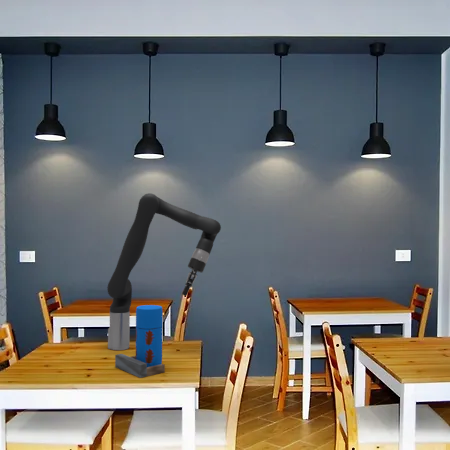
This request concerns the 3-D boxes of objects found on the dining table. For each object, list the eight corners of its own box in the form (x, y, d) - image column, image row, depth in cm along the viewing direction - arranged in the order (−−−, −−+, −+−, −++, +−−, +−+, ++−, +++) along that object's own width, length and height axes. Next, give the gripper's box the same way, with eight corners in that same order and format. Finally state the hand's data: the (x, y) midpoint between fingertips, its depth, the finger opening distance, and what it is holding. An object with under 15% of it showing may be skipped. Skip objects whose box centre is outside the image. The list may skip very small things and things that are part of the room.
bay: (139, 362, 229) (139, 350, 228) (164, 372, 214) (164, 359, 214) (115, 366, 221) (115, 354, 221) (140, 377, 207) (140, 365, 207)
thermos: (136, 371, 214) (136, 309, 214) (134, 364, 225) (135, 305, 224) (163, 370, 217) (163, 309, 216) (160, 363, 227) (161, 304, 227)
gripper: (190, 259, 253) (175, 292, 249) (192, 255, 240) (177, 290, 236) (204, 265, 253) (190, 299, 249) (207, 261, 241) (192, 297, 237)
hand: (184, 295), depth 243 cm, fingers closed
